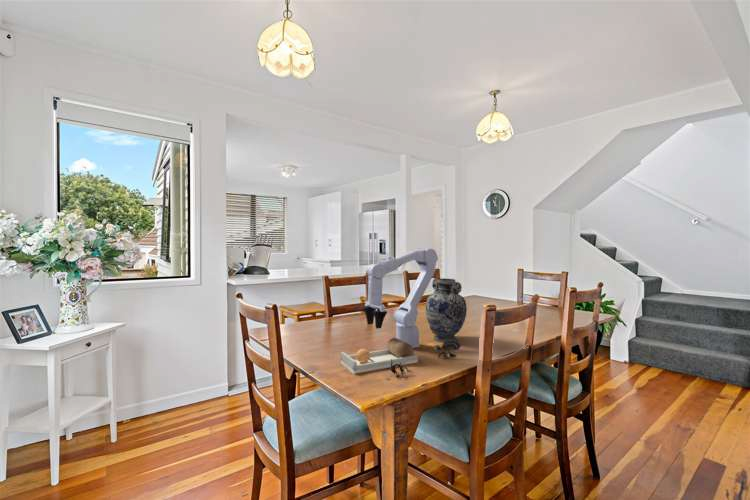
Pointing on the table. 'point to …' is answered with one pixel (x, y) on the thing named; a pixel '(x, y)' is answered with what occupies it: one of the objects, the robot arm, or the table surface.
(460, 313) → the decorative vase
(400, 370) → the creature
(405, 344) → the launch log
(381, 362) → the lane
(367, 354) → the ball
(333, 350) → the table surface
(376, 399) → the table surface
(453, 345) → the withered leafy plant
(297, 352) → the table surface
